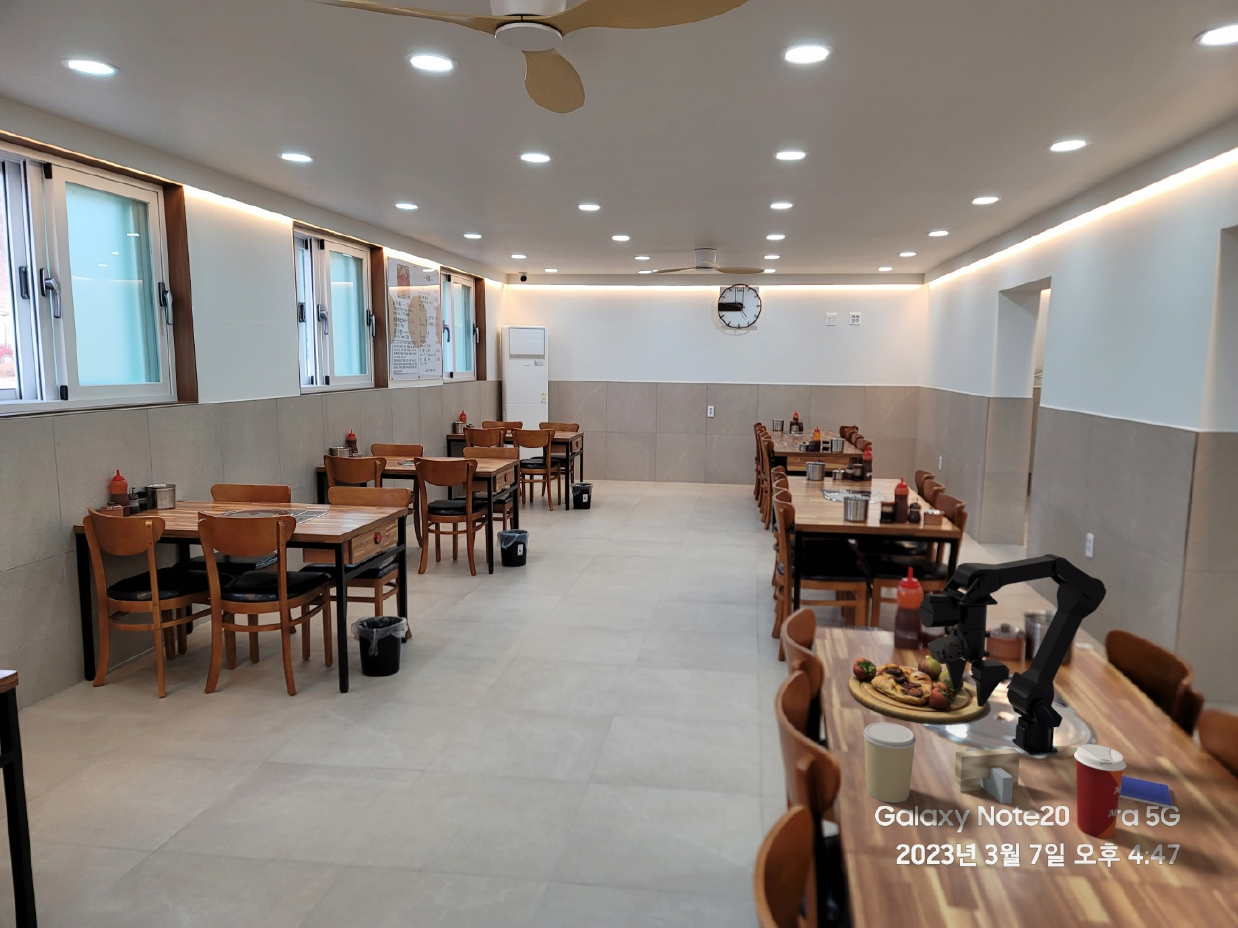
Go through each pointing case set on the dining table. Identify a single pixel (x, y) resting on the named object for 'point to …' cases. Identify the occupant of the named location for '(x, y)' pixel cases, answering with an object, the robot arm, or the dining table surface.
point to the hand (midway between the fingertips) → (967, 697)
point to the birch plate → (984, 767)
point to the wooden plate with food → (913, 692)
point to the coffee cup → (888, 761)
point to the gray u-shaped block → (998, 783)
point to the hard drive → (1145, 792)
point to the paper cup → (1098, 789)
